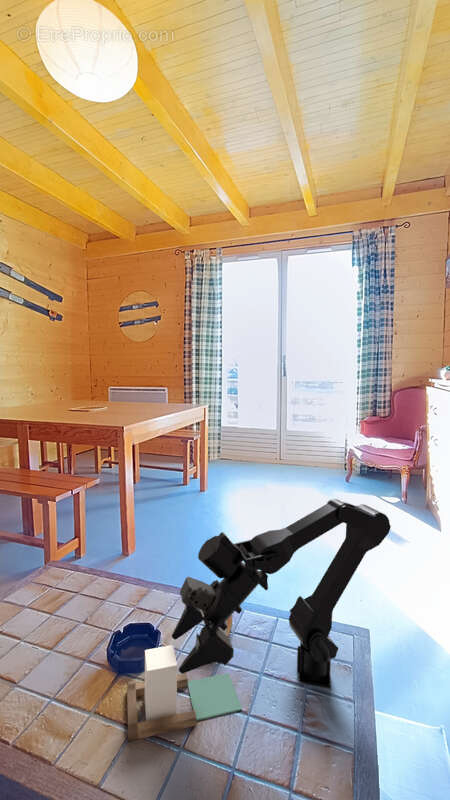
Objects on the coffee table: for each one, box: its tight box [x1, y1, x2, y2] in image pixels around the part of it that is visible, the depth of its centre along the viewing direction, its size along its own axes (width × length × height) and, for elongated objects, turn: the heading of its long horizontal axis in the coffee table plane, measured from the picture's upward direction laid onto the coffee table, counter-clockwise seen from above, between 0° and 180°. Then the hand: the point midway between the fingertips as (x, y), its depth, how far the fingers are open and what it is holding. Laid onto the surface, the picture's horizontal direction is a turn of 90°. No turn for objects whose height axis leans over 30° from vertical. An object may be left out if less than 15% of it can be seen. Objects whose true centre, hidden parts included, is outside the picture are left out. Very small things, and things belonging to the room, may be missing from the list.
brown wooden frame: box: [126, 672, 197, 742], centre depth 71 cm, size 12×11×2 cm
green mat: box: [187, 672, 243, 722], centre depth 73 cm, size 9×9×1 cm
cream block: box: [144, 644, 178, 721], centre depth 70 cm, size 6×6×10 cm
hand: (176, 653), depth 71 cm, fingers open, 9 cm apart
